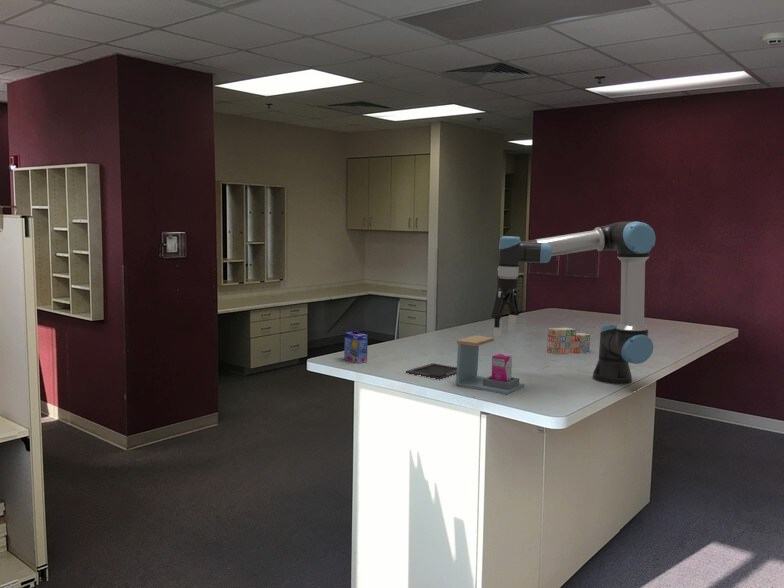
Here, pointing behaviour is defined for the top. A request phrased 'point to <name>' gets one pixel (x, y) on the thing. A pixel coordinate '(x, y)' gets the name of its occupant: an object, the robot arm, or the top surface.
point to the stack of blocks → (567, 341)
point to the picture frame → (434, 371)
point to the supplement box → (501, 367)
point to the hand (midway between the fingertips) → (504, 334)
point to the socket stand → (469, 367)
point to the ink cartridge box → (355, 346)
